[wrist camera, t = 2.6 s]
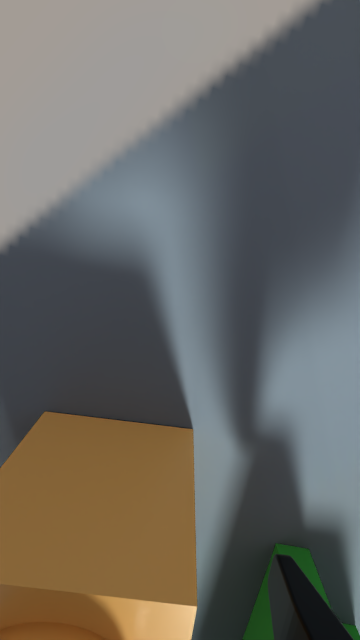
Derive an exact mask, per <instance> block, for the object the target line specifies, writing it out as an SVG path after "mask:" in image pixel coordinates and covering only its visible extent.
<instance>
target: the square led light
mask: <svg viewBox="0 0 360 640" xmlns="http://www.w3.org/2000/svg"><path fill="white" fill-rule="evenodd" d="M196 610H197V577H196V533H195V489H194V445H193V429H187V428H178V427H170V426H162V425H154V424H145V423H137V422H129V421H120V420H112V419H104V418H95V417H87V416H79V415H70V414H62V413H54V412H44V413H43V414H42V415H41V417H40V418H39V419H38V421H37V422H36V423H35V424H34V426H33V427H32V428H31V430H30V431H29V432H28V433H27V435H26V436H25V437H24V439H23V440H22V441H21V442H20V444H19V445H18V446H17V447H16V449H15V450H14V451H13V453H12V454H11V455H10V456H9V458H8V459H7V460H6V462H5V463H4V464H3V465H2V467H1V468H0V640H191V638H192V632H193V627H194V621H195V616H196Z"/></svg>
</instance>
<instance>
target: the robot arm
mask: <svg viewBox="0 0 360 640" xmlns="http://www.w3.org/2000/svg"><path fill="white" fill-rule="evenodd" d="M268 594H269V602H270V611H271V619H272V627H273V635H274V640H354V639H353V638H352V636H351V635H350V634H349V632H348V631H347V630H346V628H345V627H344V626H343V624H342V623H341V622H340V620H339V619H338V618H337V616H336V615H335V614H334V612H333V611H332V610H331V608H330V607H329V606H328V604H327V603H326V602H325V600H324V599H323V598H322V596H321V595H320V594H319V592H318V591H317V590H316V588H315V587H314V586H313V584H312V583H311V582H310V580H309V579H308V578H307V576H306V575H305V574H304V572H303V571H302V570H301V568H300V567H299V566H298V564H297V563H296V562H295V560H294V559H293V558H292V557H291V556H289V555H283V554H275V555H274V557H273V560H272V564H271V567H270V571H269V575H268Z"/></svg>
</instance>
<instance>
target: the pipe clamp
mask: <svg viewBox="0 0 360 640" xmlns="http://www.w3.org/2000/svg"><path fill="white" fill-rule="evenodd" d="M275 554H283V555H289V556H291V557H292V558H293V559H294V560H295V562H296V563H297V564H298V566H299V567H300V568H301V570H302V571H303V572H304V574H305V575H306V576H307V578H308V579H309V580H310V582H311V583H312V584H313V586H314V587H315V588H316V590H317V591H318V592H319V594H320V595H321V596H322V598H323V599H324V600H325V602H326V603H327V604H328V606H329V607H330V604H329V601H328V599H327V596H326V593H325V591H324V588H323V585H322V583H321V580H320V577H319V575H318V572H317V569H316V567H315V564H314V561H313V559H312V556H311V553H310V551H309V549H305V548H300V547H294V546H288V545H283V544H277V543H276V545H275V548H274V550H273V553H272V556H271V559H270V562H269V565H268V568H267V570H266V573H265V576H264V579H263V582H262V585H261V588H260V590H259V593H258V596H257V599H256V602H255V605H254V608H253V610H252V613H251V616H250V619H249V622H248V625H247V628H246V630H245V633H244V636H243V639H242V640H274V635H273V627H272V619H271V611H270V602H269V594H268V575H269V571H270V567H271V564H272V560H273V557H274V555H275ZM330 608H331V607H330ZM331 610H332V609H331ZM342 624H343V623H342ZM343 626H344V627H345V628H346V630H347V631H348V632H349V634H350V635H351V636H352V638H353V639H354V640H360V635H359V633H358V631H357V628H356V626H355V625H349V624H343Z"/></svg>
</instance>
